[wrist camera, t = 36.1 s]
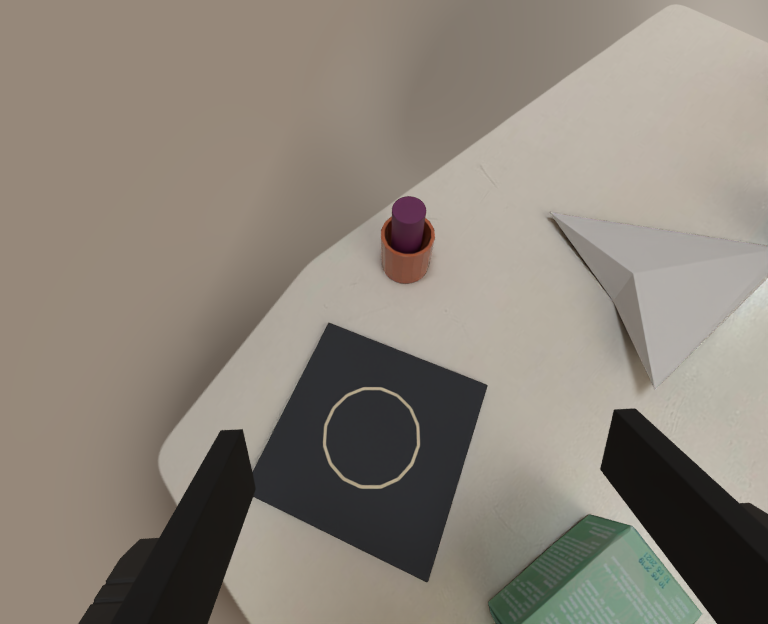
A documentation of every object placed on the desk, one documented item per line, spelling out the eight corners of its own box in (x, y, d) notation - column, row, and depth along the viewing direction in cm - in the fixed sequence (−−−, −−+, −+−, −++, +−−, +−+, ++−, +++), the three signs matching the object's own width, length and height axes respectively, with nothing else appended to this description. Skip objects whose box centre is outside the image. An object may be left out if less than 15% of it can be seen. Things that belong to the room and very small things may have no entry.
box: (482, 603, 34) (507, 638, 27) (586, 511, 37) (632, 521, 30) (537, 691, 31) (580, 753, 25) (643, 585, 34) (708, 614, 28)
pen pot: (374, 274, 48) (372, 246, 42) (392, 237, 50) (393, 205, 44) (419, 290, 47) (423, 263, 41) (435, 252, 49) (441, 221, 43)
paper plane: (853, 343, 44) (897, 331, 40) (633, 396, 41) (658, 389, 38) (729, 180, 54) (755, 158, 50) (546, 216, 51) (558, 196, 47)
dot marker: (386, 268, 48) (386, 217, 38) (396, 246, 49) (399, 192, 39) (412, 277, 47) (419, 228, 38) (422, 255, 48) (431, 202, 39)
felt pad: (244, 491, 38) (242, 491, 37) (329, 324, 45) (328, 322, 44) (427, 581, 35) (427, 583, 34) (486, 386, 42) (488, 384, 41)
